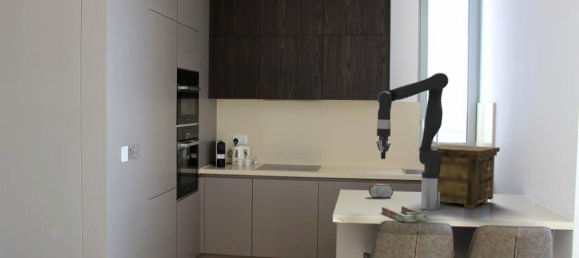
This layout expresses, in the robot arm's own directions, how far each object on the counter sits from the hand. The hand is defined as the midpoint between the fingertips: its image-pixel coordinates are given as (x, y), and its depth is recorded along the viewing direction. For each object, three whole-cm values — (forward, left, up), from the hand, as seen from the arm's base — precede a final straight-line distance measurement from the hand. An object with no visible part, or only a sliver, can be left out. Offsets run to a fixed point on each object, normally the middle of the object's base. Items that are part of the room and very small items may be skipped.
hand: (383, 158), depth 318 cm
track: (+1, +27, -27) cm, 38 cm away
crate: (-51, -3, -27) cm, 58 cm away
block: (+1, +35, -27) cm, 44 cm away
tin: (-14, -30, -27) cm, 43 cm away
